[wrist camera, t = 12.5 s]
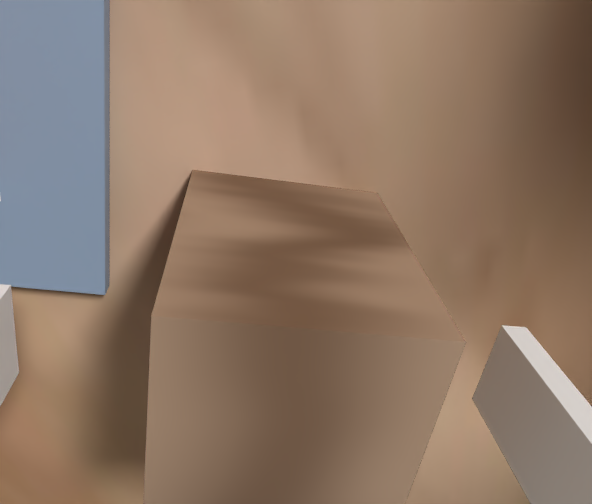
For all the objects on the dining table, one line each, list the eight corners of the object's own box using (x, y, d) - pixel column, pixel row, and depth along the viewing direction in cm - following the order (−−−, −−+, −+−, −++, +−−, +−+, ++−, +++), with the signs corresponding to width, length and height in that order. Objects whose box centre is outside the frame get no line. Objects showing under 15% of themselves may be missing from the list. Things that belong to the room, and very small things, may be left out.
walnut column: (377, 192, 17) (466, 342, 10) (341, 339, 20) (392, 537, 13) (192, 169, 16) (150, 315, 9) (181, 326, 19) (142, 530, 12)
